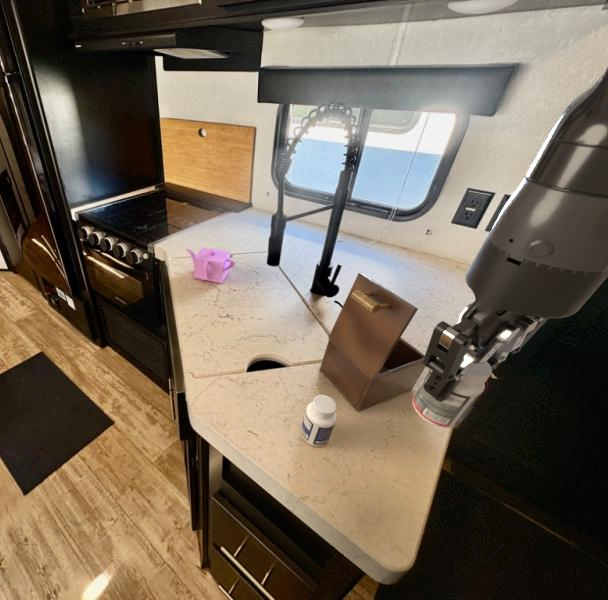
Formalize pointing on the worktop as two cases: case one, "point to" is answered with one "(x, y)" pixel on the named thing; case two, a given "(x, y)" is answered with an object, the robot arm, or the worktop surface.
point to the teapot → (211, 264)
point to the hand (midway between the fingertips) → (450, 386)
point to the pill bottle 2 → (452, 398)
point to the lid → (370, 324)
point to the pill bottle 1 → (319, 421)
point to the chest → (388, 383)
